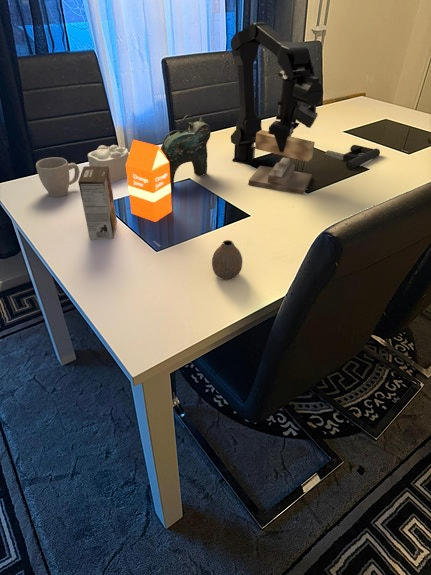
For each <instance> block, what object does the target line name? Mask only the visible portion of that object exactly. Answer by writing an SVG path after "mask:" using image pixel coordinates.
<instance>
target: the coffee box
mask: <svg viewBox="0 0 431 575" xmlns="http://www.w3.org/2000/svg"><path fill="white" fill-rule="evenodd" d="M80 172H81V173H80V174H79V177H78V180H77V181H78V187H79V188H78V189H79V193H80V196H81V197H80V198H81V202H82V207H83V212H84V218H85V222H86V227H87V232H88V238H89V240H113V239H115V234H116V229H117V228H116V227H117V223H118V219H117V213H116V212H117V211H116V207H115V200H114V193H113V187H112V182H111V180H110V173H109V167H100V166H89V165H87V166H83V167H82V170H81V171H80Z"/></svg>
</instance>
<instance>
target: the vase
mask: <svg viewBox="0 0 431 575" xmlns="http://www.w3.org/2000/svg"><path fill="white" fill-rule="evenodd" d="M211 267H212V271H213V272H214V274H215V275H216V276H217V277H218V278H219V279H221V280H223V281H229V280H230V281H231V280H233V279H235V278H237V276H239V274H240V272H241V271H242V268H243V256H242V254H241V251H240V249H239V248H238V247H237V246H236V245H235V243H234V242H233V241H232V240H230V239H226V240H224V241H222V243H221V244H220V246H218V247H217V249H216V250H215V251H214V252H213V255H212V259H211Z"/></svg>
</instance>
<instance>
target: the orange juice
mask: <svg viewBox="0 0 431 575" xmlns="http://www.w3.org/2000/svg"><path fill="white" fill-rule="evenodd" d="M128 153H129V156H128V159H127V163H126V172H127V176H126V177H127V178H126V179H127V188H128V195H129V203H130V211H131V212H130V213H131V214H132V215H135V216H137V217H140V218H142V219H146V220H149V221H151V222H155V223H156V222H158V221H160V220H161V219H163V218H164V217H166V216H167V215H169V214H170V213H172V210H173V209H172V206H173V205H172V187H171V183H170V168H169V161H168V160H167V158H166V156H165V155H164V153H163V152H162V150H161V146H160V145H156V144H152V143H148V142H144V141H140V140H136V139H132V143H131V146H130V149H129V152H128Z"/></svg>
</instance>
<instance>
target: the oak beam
mask: <svg viewBox="0 0 431 575" xmlns="http://www.w3.org/2000/svg"><path fill="white" fill-rule="evenodd" d="M268 132H269V130H268V131H267V130H263V129H262V130H261V131H259V132H257V133H256V143H254V147H255V150H259V151H262V152H267V153H271V154H275V155H279V156H283V157H285V158H290V159H291V158H292V159H295V160H299V161H303V162H306V163H307V162H309V161H311V159H313V155H314V149H315V141H312V140H308V139H304V138H300V137H295V136H292V135H291V136H289V137H288V139H287V142H286V145H285V149H284V152H280V151H279V148H278V145H277V142H276V139H275V136H274V135H272V134H269V133H268Z"/></svg>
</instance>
